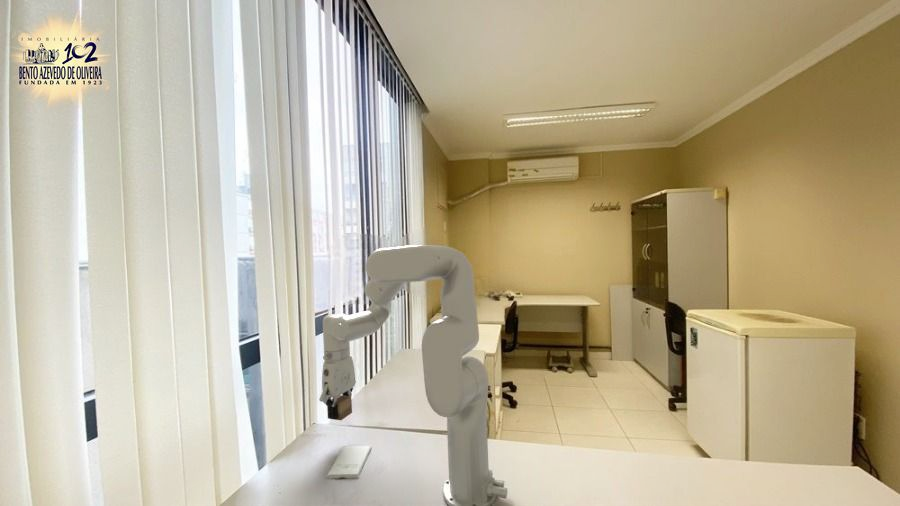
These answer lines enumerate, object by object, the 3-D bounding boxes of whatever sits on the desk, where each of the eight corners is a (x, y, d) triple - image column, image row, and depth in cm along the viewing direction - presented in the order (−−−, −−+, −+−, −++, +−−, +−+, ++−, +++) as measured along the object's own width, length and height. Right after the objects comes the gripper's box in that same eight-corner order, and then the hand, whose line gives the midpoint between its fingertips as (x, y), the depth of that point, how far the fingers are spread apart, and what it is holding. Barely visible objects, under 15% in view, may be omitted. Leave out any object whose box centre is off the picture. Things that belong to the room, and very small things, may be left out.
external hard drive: (371, 451, 94) (358, 479, 82) (344, 451, 95) (326, 480, 82) (371, 445, 94) (357, 473, 82) (343, 446, 95) (326, 474, 82)
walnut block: (352, 412, 98) (351, 396, 98) (340, 420, 94) (340, 403, 94) (339, 410, 100) (338, 394, 100) (327, 418, 95) (326, 401, 96)
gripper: (326, 363, 88) (329, 430, 88) (364, 347, 104) (367, 403, 103) (306, 362, 91) (308, 426, 90) (346, 346, 107) (348, 401, 106)
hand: (340, 413), depth 97 cm, fingers closed on walnut block, 5 cm apart
